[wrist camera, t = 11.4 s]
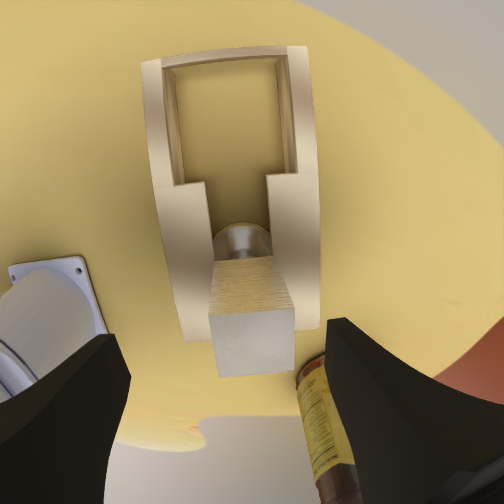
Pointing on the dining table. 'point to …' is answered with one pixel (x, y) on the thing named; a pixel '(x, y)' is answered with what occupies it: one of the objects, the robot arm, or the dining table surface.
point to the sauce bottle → (326, 438)
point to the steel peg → (249, 305)
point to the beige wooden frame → (195, 197)
